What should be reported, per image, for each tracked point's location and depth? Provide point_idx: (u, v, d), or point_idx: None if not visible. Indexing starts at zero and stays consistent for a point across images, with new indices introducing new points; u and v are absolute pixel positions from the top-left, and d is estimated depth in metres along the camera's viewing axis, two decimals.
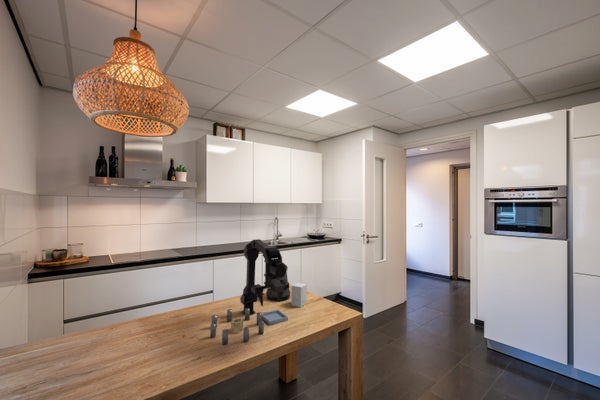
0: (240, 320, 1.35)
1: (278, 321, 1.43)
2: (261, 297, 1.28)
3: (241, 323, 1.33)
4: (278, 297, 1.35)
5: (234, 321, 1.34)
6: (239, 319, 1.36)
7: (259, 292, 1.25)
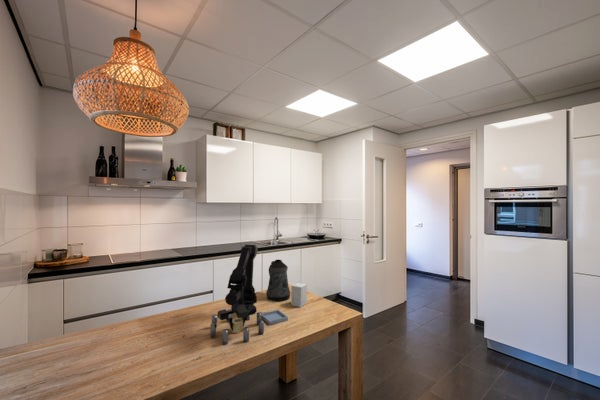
0: (240, 320, 1.35)
1: (278, 321, 1.43)
2: (230, 321, 1.31)
3: (241, 323, 1.33)
4: None
5: (234, 321, 1.34)
6: (239, 319, 1.36)
7: (224, 318, 1.28)
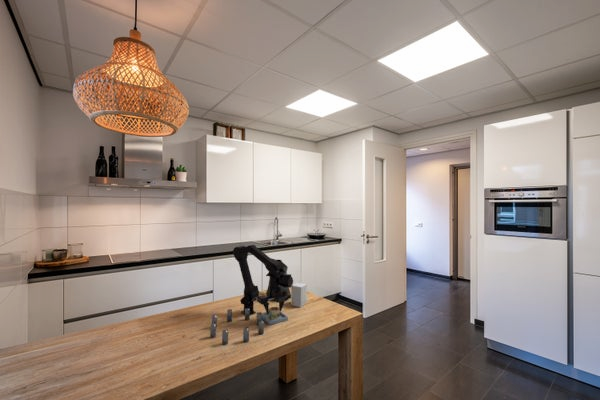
0: (277, 308, 1.48)
1: (278, 321, 1.43)
2: (267, 306, 1.44)
3: (278, 311, 1.47)
4: (280, 306, 1.50)
5: (271, 309, 1.47)
6: (275, 307, 1.49)
7: (264, 302, 1.42)
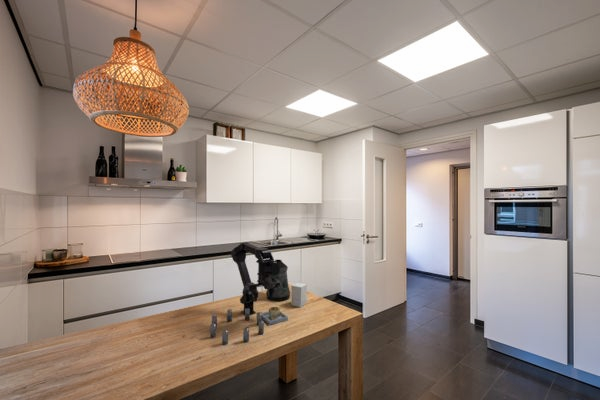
0: (277, 308, 1.48)
1: (278, 321, 1.43)
2: (254, 294, 1.42)
3: (278, 311, 1.47)
4: (270, 294, 1.49)
5: (271, 309, 1.47)
6: (275, 307, 1.49)
7: (252, 289, 1.40)
